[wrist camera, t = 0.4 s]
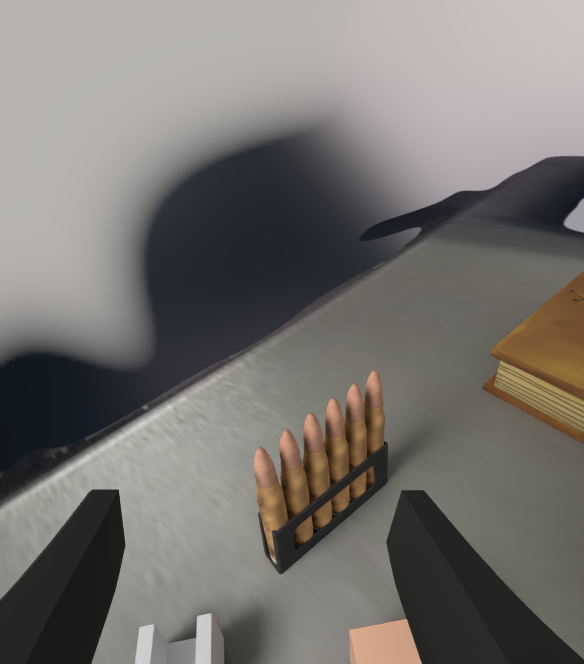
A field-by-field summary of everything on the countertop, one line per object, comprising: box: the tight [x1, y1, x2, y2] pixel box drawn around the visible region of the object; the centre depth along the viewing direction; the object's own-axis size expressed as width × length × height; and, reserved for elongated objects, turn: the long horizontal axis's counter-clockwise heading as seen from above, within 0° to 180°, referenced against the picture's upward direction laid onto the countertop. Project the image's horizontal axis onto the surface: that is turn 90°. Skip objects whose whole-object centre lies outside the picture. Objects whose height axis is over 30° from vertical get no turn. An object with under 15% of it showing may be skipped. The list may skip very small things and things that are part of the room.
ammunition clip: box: [254, 370, 388, 574], centre depth 28 cm, size 11×2×12 cm, turn 128°
